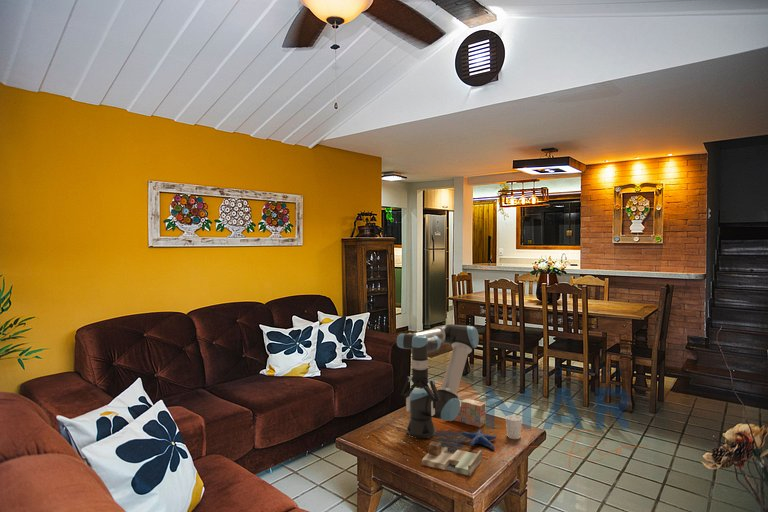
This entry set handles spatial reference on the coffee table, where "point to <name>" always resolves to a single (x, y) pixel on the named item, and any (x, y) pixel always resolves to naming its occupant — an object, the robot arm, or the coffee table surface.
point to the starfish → (480, 438)
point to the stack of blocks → (471, 412)
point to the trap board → (454, 461)
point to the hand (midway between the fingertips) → (420, 412)
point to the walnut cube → (434, 448)
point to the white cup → (513, 426)
